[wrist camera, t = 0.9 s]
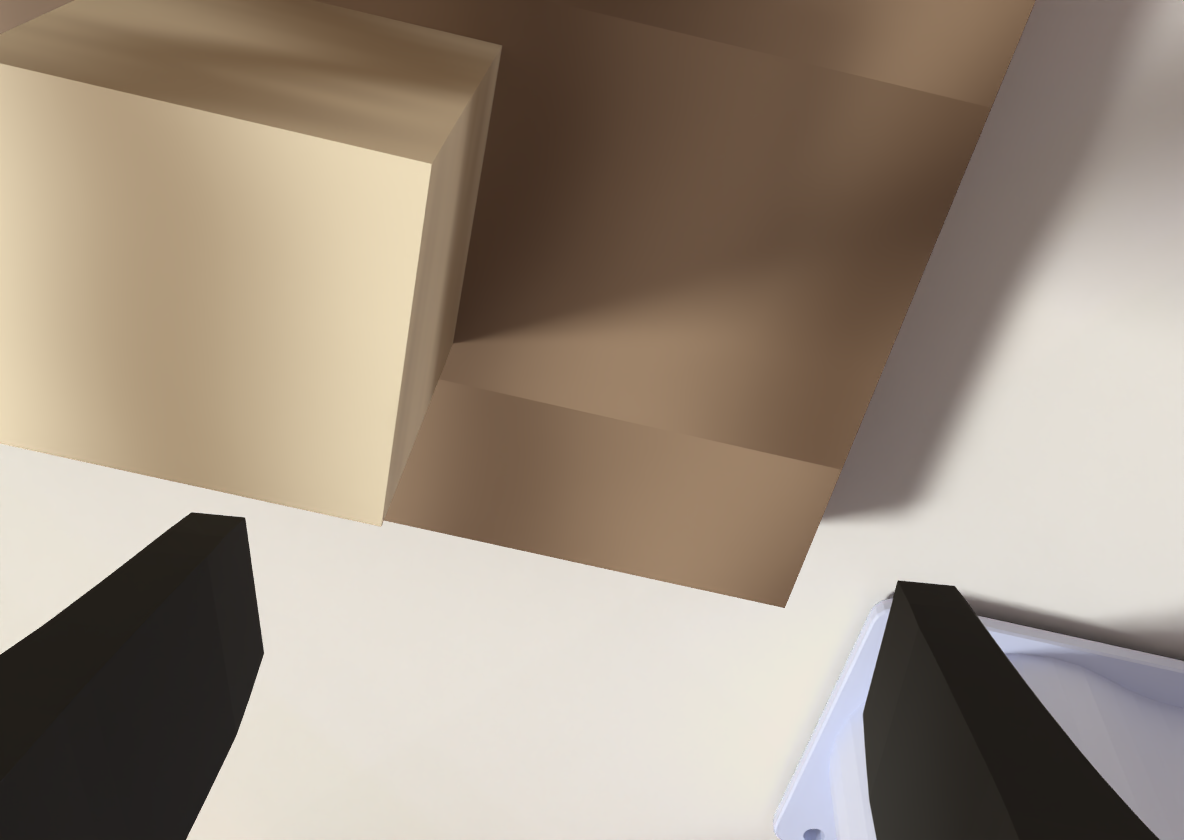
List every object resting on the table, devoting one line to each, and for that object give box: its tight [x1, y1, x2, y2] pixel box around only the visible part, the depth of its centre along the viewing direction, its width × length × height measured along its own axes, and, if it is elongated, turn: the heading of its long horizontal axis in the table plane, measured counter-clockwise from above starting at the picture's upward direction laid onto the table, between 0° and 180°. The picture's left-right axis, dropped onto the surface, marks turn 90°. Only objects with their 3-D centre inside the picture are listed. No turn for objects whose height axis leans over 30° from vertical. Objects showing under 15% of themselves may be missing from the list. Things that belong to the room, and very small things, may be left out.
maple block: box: [0, 0, 502, 527], centre depth 15 cm, size 5×5×5 cm
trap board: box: [0, 0, 1036, 608], centre depth 18 cm, size 26×13×2 cm, turn 78°
